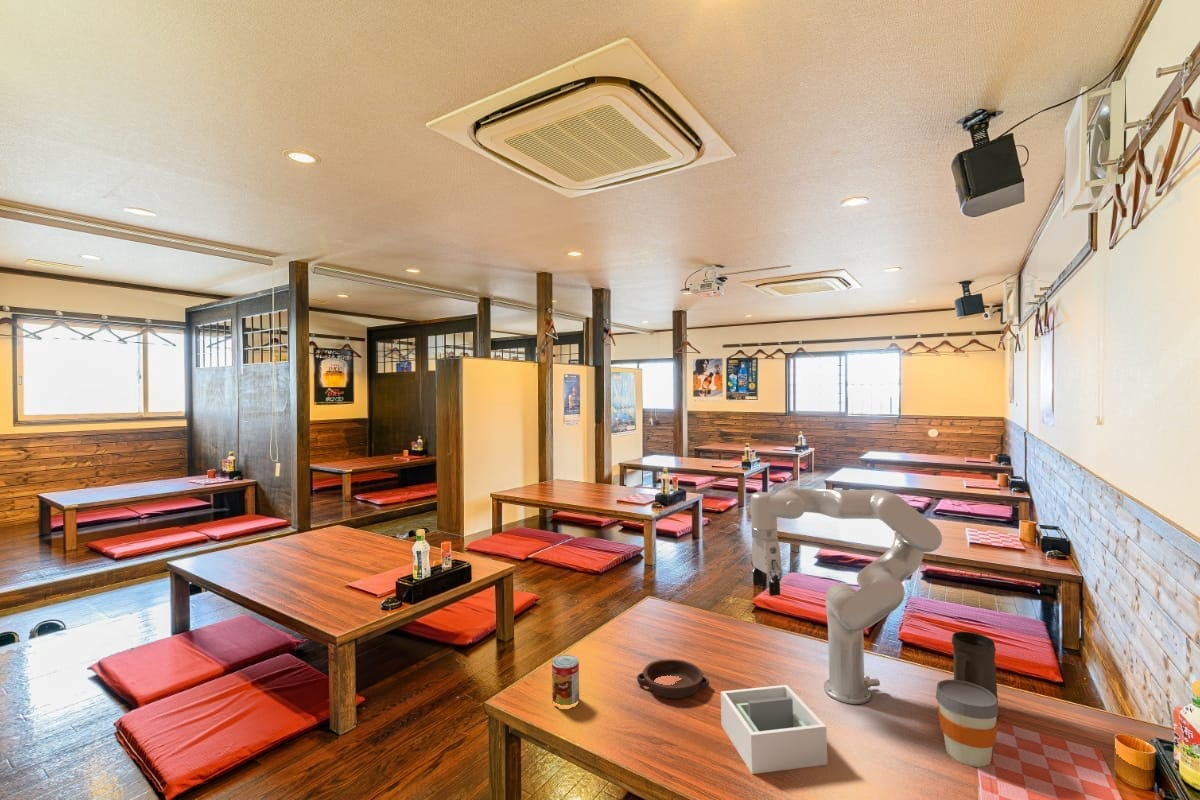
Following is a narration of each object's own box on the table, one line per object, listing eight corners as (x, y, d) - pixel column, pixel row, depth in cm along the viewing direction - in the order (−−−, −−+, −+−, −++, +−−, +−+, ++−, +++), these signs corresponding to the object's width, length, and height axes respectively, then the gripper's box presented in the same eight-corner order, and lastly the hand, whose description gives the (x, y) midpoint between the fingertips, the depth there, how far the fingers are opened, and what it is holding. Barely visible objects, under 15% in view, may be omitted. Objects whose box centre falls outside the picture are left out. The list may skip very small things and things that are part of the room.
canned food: (556, 693, 157) (556, 653, 157) (582, 696, 155) (581, 655, 156) (549, 708, 149) (548, 666, 149) (575, 711, 148) (574, 668, 148)
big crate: (787, 717, 143) (786, 684, 143) (827, 764, 124) (826, 726, 124) (721, 725, 140) (720, 691, 140) (752, 774, 121) (751, 735, 121)
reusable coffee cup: (1013, 765, 122) (1011, 701, 123) (973, 777, 119) (971, 711, 119) (962, 734, 134) (961, 675, 135) (925, 743, 131) (923, 683, 131)
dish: (711, 706, 149) (711, 689, 149) (635, 702, 152) (634, 685, 152) (707, 675, 166) (706, 659, 166) (638, 672, 169) (638, 656, 169)
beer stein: (957, 692, 154) (953, 625, 153) (1002, 706, 146) (999, 636, 145) (944, 718, 143) (940, 647, 142) (992, 735, 135) (989, 659, 134)
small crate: (782, 721, 139) (781, 684, 139) (808, 753, 126) (807, 712, 127) (736, 726, 137) (735, 688, 138) (758, 759, 125) (757, 717, 125)
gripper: (791, 539, 151) (793, 598, 151) (761, 526, 168) (763, 579, 168) (767, 541, 150) (769, 601, 149) (740, 528, 167) (741, 581, 166)
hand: (766, 589), depth 158 cm, fingers open, 9 cm apart
